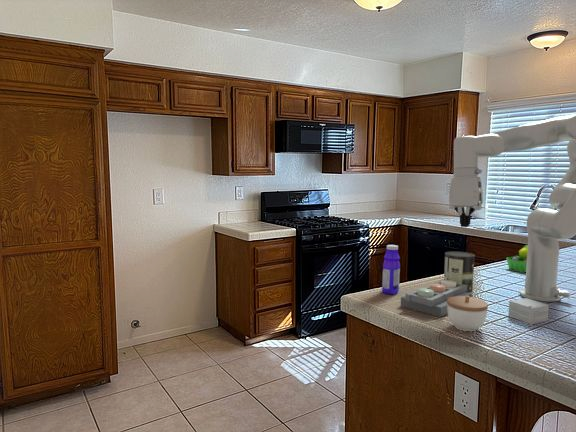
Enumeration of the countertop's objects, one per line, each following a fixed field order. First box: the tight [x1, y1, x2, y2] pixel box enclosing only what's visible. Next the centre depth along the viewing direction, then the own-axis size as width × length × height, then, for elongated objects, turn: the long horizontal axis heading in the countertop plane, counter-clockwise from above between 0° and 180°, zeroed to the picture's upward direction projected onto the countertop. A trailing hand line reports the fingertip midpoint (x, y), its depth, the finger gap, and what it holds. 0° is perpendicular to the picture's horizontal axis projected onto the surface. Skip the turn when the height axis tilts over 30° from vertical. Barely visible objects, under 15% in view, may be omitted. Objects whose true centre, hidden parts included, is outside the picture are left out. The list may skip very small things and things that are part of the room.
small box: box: [507, 297, 550, 325], centre depth 129 cm, size 8×8×5 cm
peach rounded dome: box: [429, 283, 445, 293], centre depth 142 cm, size 5×5×3 cm
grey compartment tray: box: [400, 280, 473, 318], centre depth 142 cm, size 14×25×5 cm, turn 134°
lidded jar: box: [447, 296, 489, 332], centre depth 121 cm, size 11×11×9 cm
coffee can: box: [443, 250, 476, 294], centre depth 157 cm, size 10×10×14 cm
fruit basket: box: [505, 244, 528, 273], centre depth 190 cm, size 11×9×11 cm
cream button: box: [440, 279, 456, 288], centre depth 147 cm, size 5×5×3 cm
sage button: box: [416, 287, 434, 298], centre depth 136 cm, size 5×5×3 cm
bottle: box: [381, 244, 401, 295], centre depth 154 cm, size 7×6×17 cm
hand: (465, 226), depth 146 cm, fingers closed
